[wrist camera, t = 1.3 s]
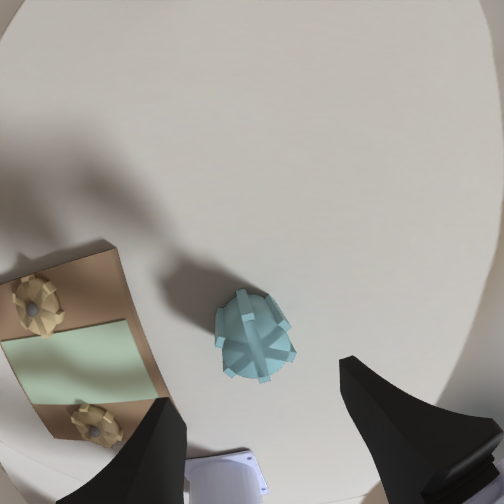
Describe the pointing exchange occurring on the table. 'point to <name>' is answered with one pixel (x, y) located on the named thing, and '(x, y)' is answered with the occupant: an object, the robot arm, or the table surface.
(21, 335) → the gear board
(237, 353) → the teal gear
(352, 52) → the table surface
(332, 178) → the table surface
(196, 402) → the table surface
